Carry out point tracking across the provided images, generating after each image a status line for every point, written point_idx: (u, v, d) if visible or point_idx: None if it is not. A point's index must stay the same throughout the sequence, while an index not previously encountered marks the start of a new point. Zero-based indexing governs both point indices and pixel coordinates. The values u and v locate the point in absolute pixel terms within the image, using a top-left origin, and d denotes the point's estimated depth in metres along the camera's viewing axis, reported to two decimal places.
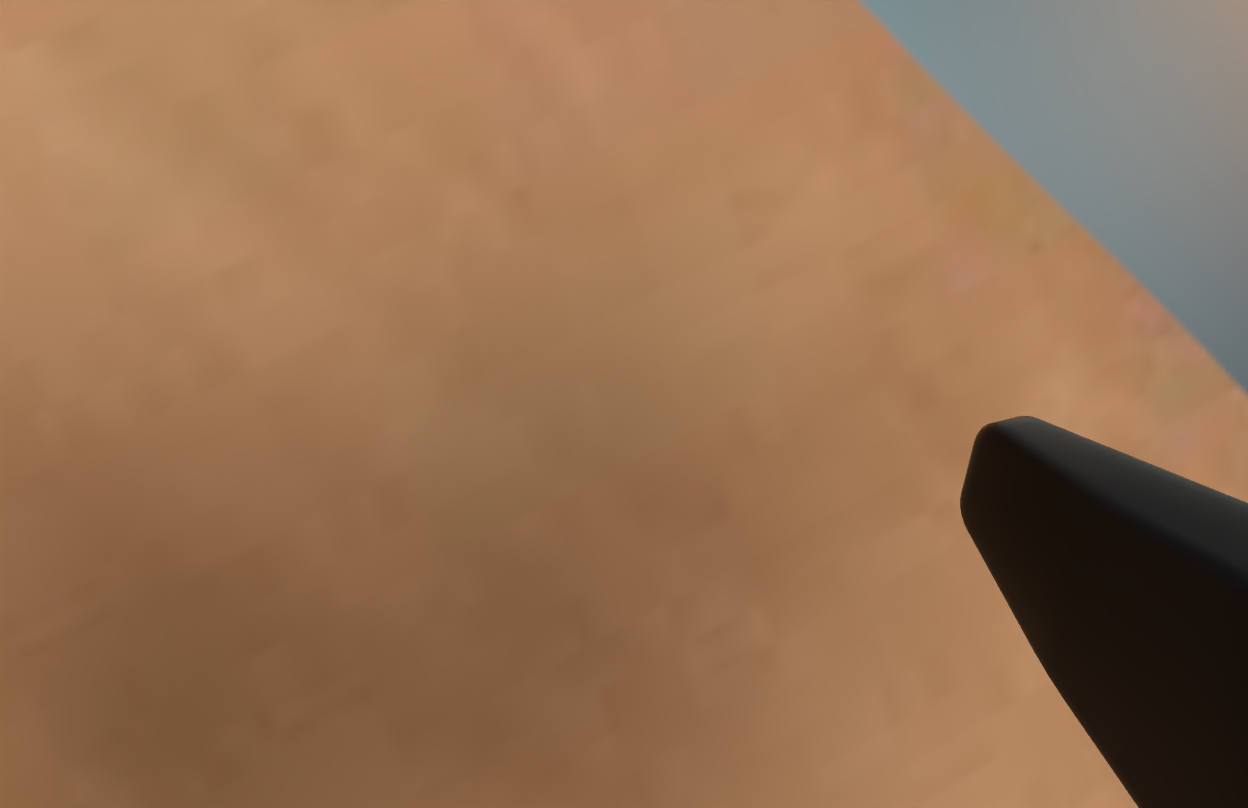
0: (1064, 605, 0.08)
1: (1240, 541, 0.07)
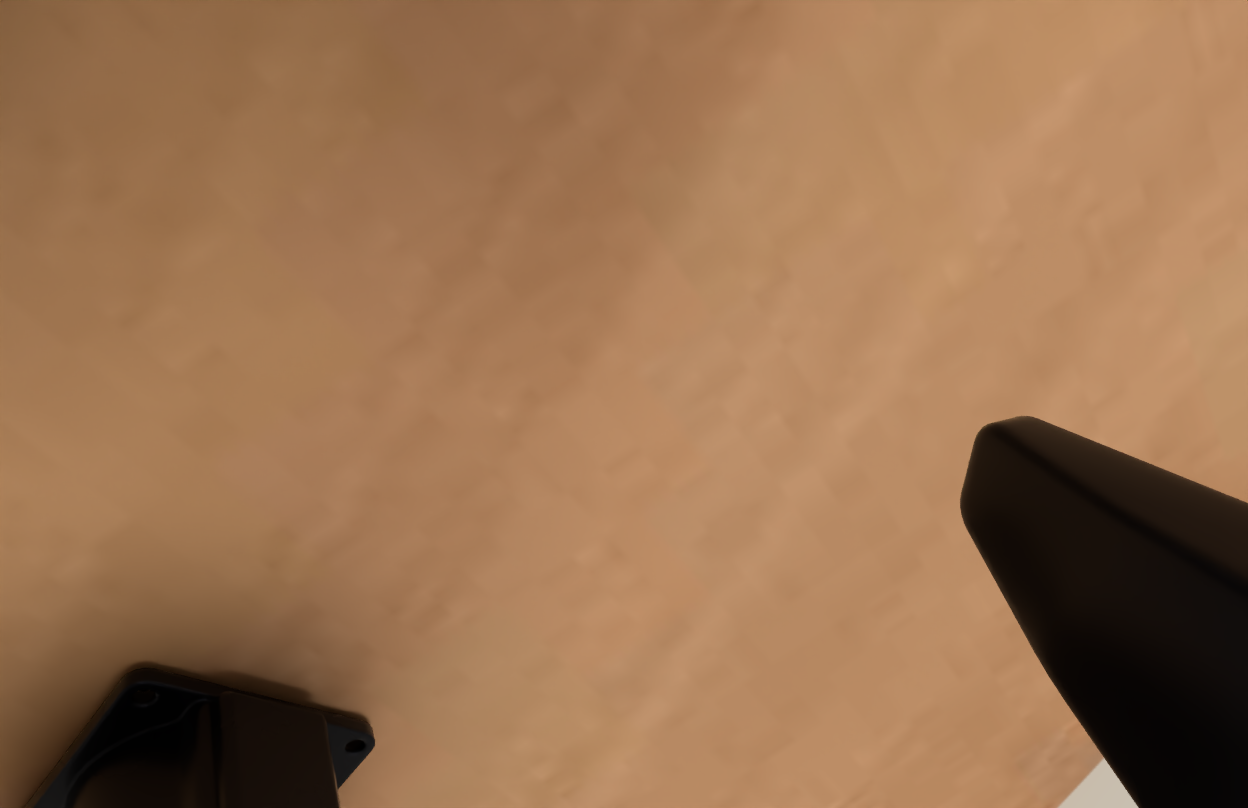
0: (1064, 605, 0.08)
1: (1240, 541, 0.07)
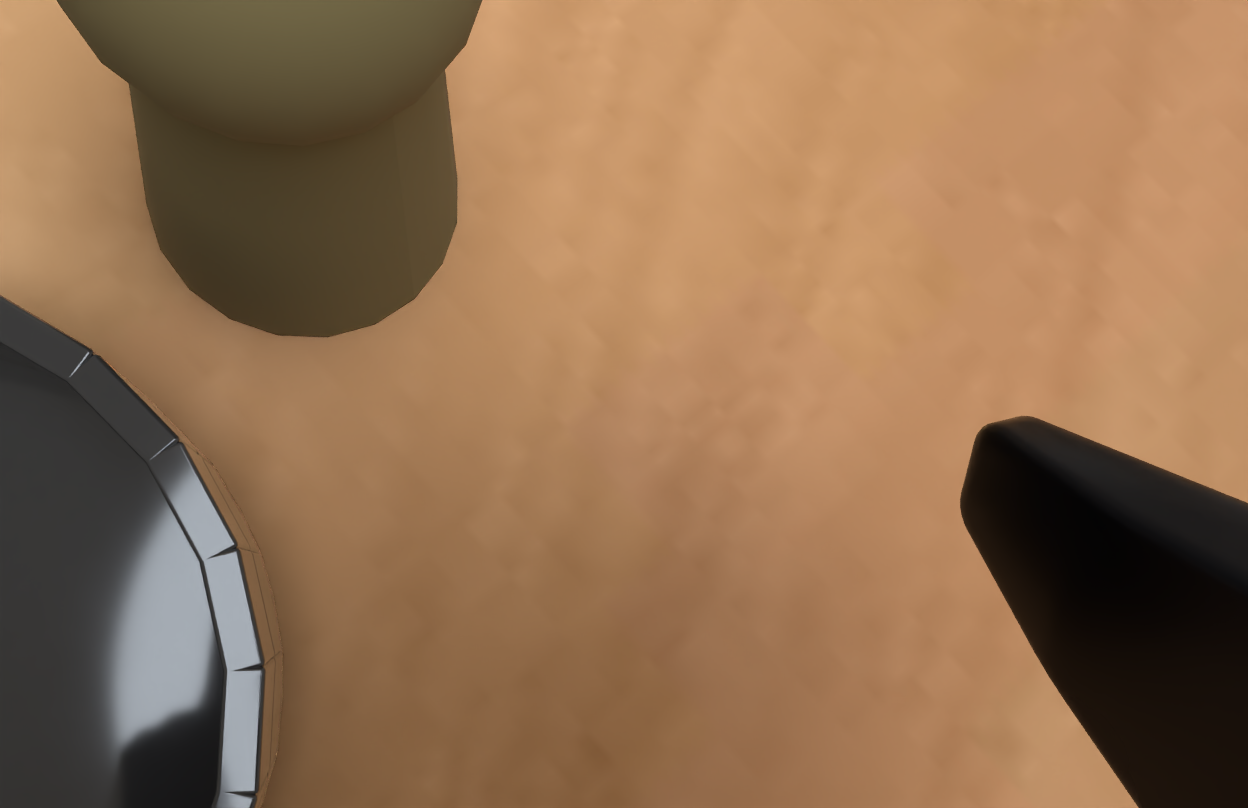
0: (1064, 604, 0.08)
1: (1240, 540, 0.07)
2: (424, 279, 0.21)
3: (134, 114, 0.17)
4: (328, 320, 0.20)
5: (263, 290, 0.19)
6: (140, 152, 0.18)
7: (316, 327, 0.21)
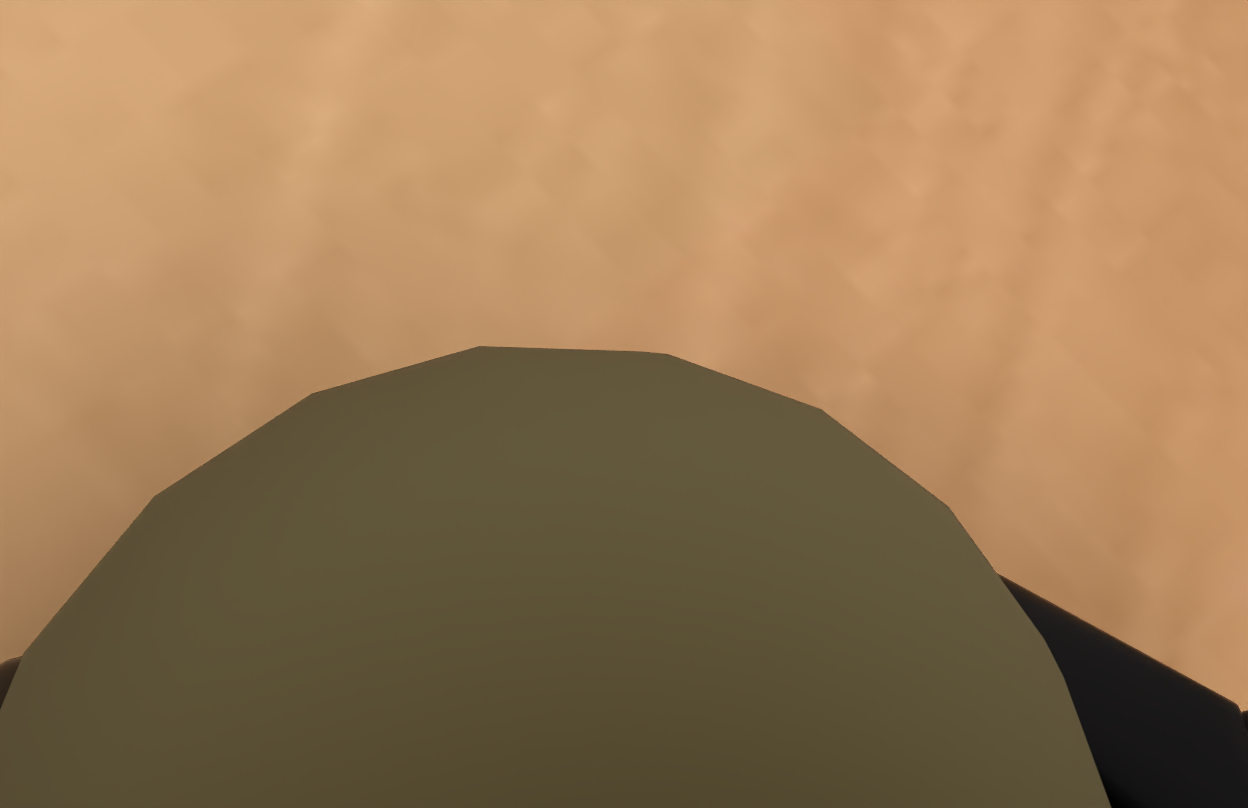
0: None
1: None
2: None
3: None
4: None
5: None
6: None
7: None
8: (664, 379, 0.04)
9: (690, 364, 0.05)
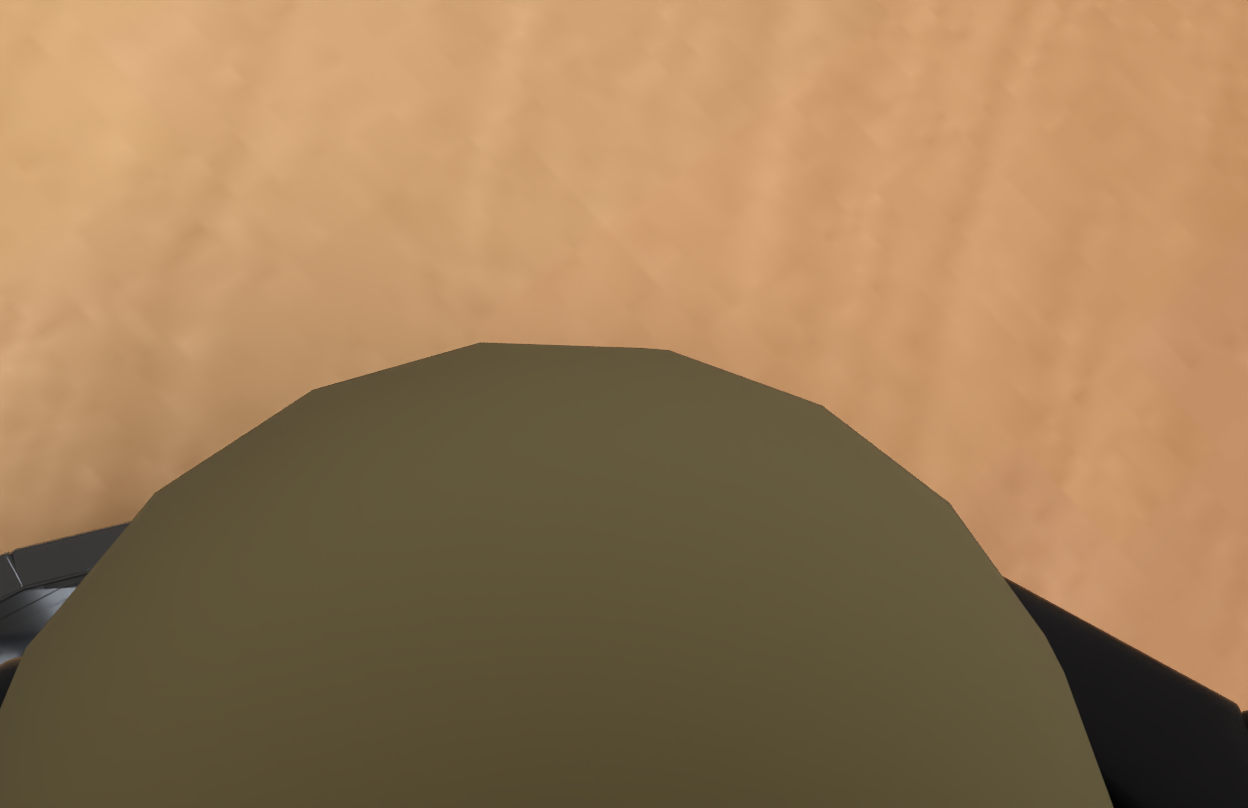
0: None
1: None
2: None
3: None
4: None
5: None
6: None
7: None
8: (665, 374, 0.04)
9: (691, 360, 0.05)
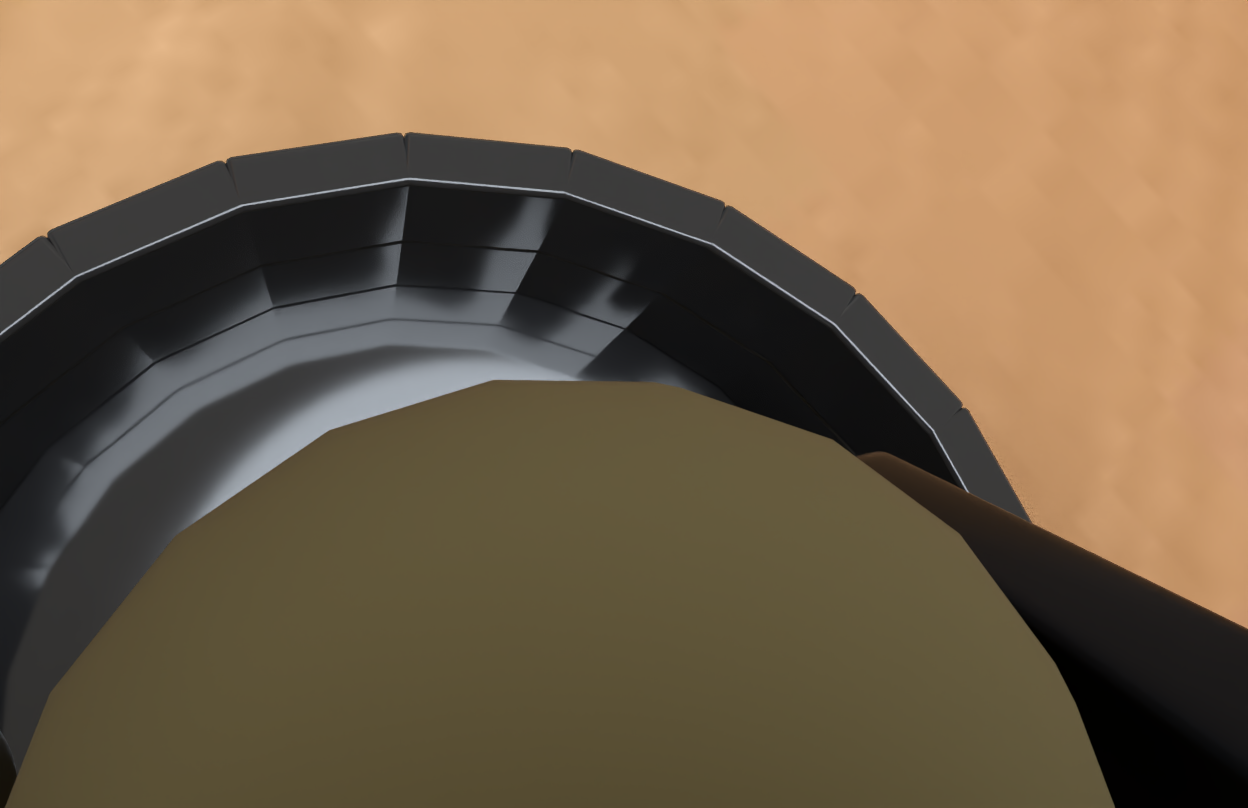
0: None
1: (1068, 592, 0.07)
2: None
3: None
4: None
5: None
6: None
7: None
8: (678, 415, 0.05)
9: (703, 398, 0.05)
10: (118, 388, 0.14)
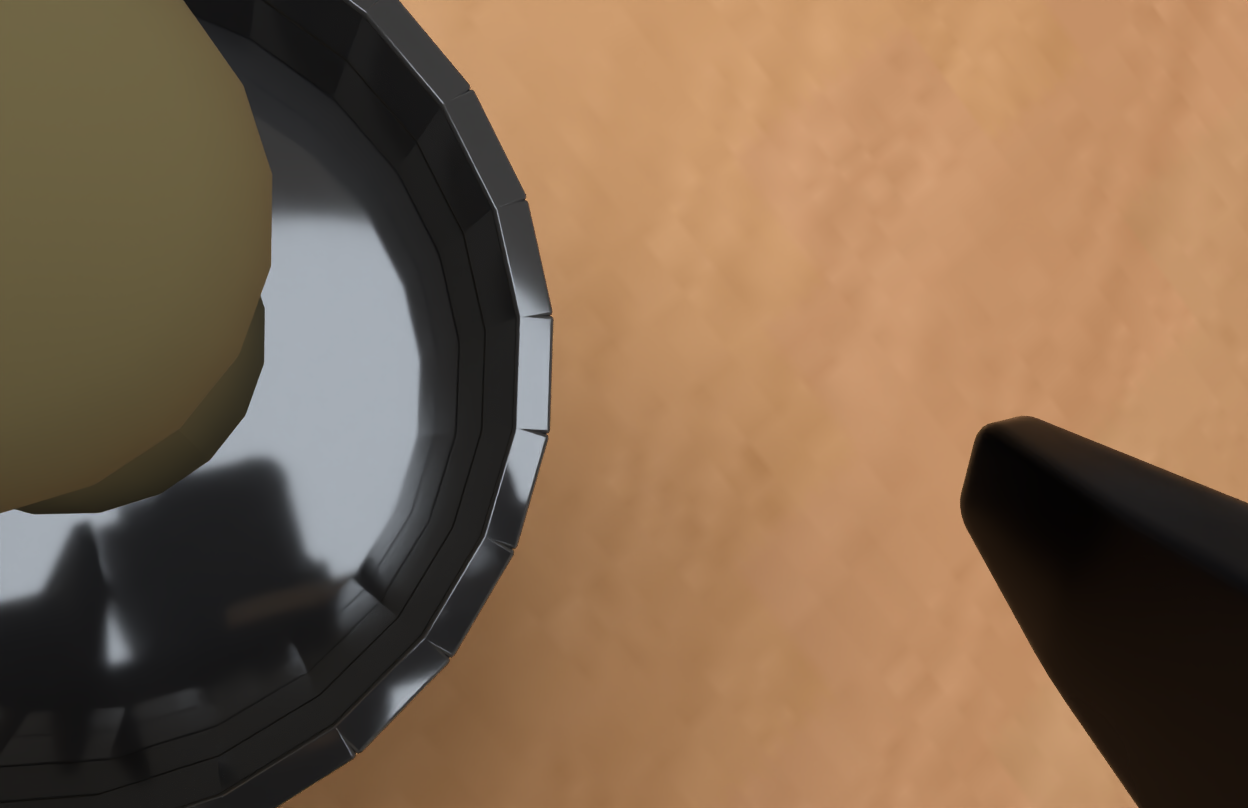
0: (1064, 605, 0.08)
1: (1240, 541, 0.07)
2: (221, 441, 0.18)
3: None
4: (96, 507, 0.17)
5: None
6: None
7: (81, 510, 0.17)
8: None
9: None
10: None
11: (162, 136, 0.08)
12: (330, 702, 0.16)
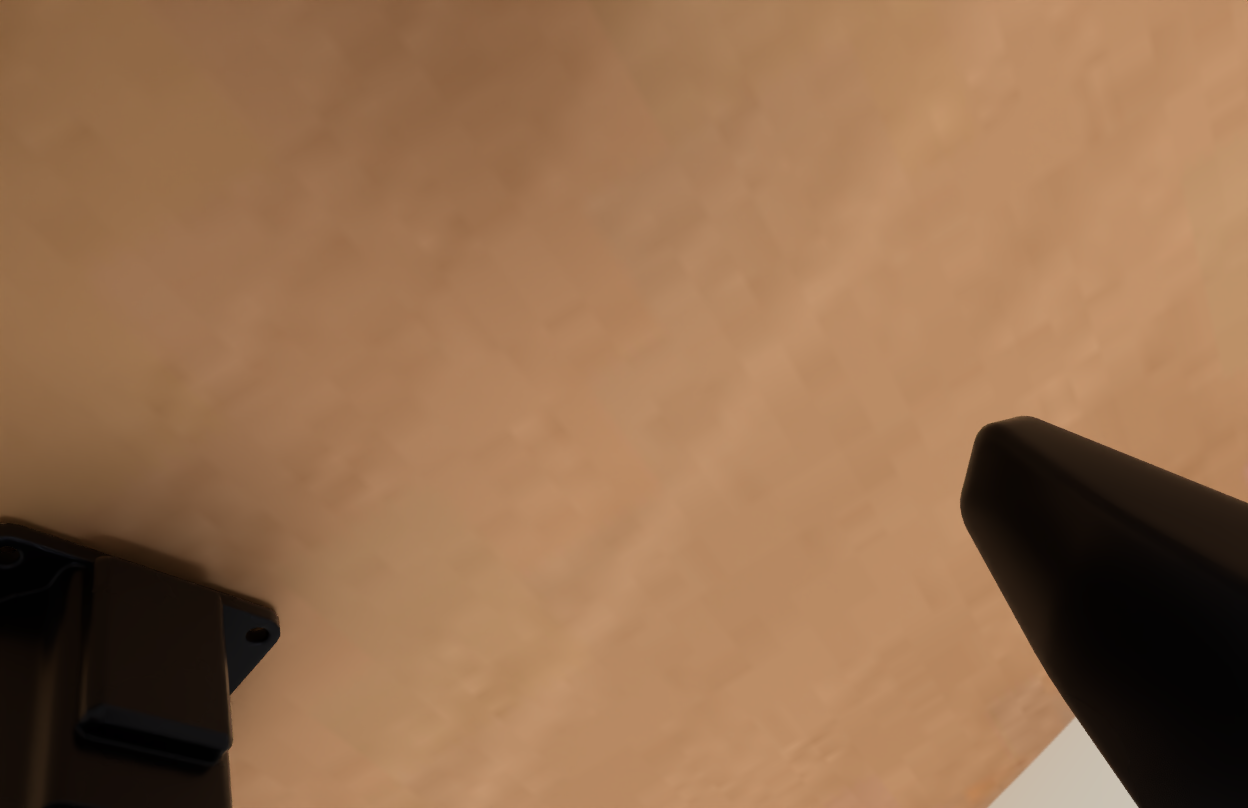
0: (1064, 605, 0.08)
1: (1240, 541, 0.07)
2: None
3: None
4: None
5: None
6: None
7: None
8: None
9: None
10: None
11: None
12: None
